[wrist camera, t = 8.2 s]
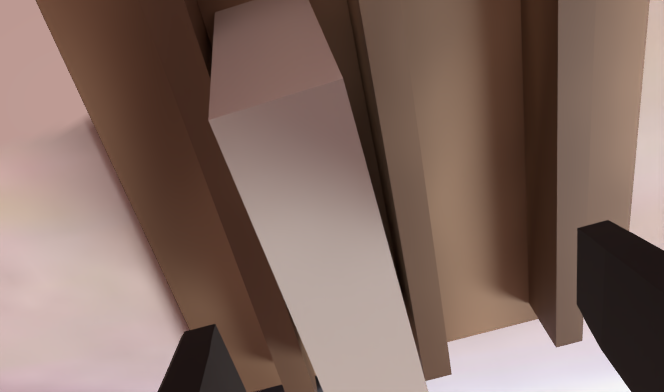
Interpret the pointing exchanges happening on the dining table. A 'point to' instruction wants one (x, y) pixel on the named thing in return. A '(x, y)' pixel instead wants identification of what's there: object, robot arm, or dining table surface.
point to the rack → (383, 157)
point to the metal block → (310, 194)
